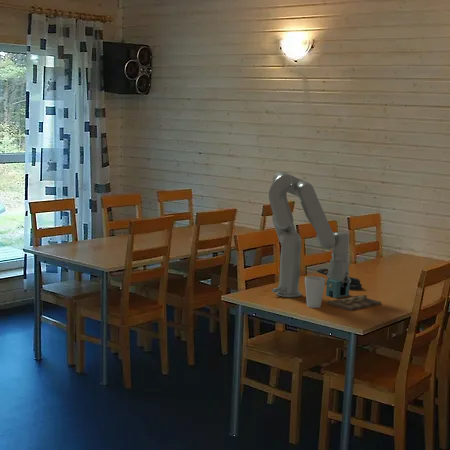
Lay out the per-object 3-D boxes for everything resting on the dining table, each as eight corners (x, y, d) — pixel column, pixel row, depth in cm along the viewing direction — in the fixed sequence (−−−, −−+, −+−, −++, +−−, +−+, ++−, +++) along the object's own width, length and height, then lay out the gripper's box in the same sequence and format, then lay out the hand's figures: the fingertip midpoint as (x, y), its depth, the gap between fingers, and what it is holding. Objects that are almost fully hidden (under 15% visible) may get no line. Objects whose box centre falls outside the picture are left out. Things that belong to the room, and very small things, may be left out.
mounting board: (349, 310, 323) (350, 304, 323) (327, 304, 334) (327, 297, 334) (381, 304, 337) (381, 297, 336) (358, 298, 348) (358, 291, 347)
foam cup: (327, 306, 330) (329, 278, 328) (316, 309, 323) (317, 281, 321) (310, 302, 336) (312, 275, 334) (299, 305, 329) (300, 278, 328)
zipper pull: (325, 267, 385) (364, 276, 368) (324, 279, 386) (364, 288, 369) (315, 270, 379) (355, 278, 361) (314, 282, 380) (354, 291, 362)
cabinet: (334, 298, 346) (334, 282, 344) (324, 295, 350) (325, 279, 349) (349, 295, 352) (349, 279, 351) (339, 292, 357) (340, 277, 356)
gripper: (321, 255, 353) (319, 290, 356) (347, 261, 340) (345, 298, 342) (332, 253, 358) (330, 288, 360) (358, 259, 344) (356, 296, 347)
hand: (337, 293), depth 351 cm, fingers closed on cabinet, 6 cm apart
